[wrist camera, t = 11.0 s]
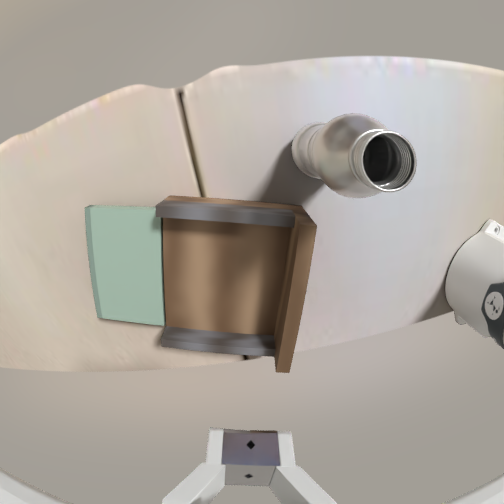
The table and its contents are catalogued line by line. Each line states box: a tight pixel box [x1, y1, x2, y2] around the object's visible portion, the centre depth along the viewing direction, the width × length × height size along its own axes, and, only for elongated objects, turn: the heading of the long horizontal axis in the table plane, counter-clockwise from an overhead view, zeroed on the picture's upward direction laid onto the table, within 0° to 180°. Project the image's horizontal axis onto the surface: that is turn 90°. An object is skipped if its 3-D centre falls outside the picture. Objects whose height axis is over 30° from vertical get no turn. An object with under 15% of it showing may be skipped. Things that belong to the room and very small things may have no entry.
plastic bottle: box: [291, 113, 416, 198], centre depth 24 cm, size 6×7×20 cm
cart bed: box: [156, 196, 317, 373], centre depth 35 cm, size 16×18×9 cm
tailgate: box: [85, 205, 166, 326], centre depth 36 cm, size 2×16×10 cm
